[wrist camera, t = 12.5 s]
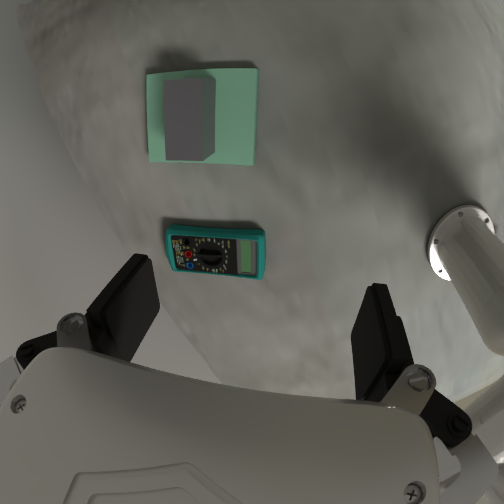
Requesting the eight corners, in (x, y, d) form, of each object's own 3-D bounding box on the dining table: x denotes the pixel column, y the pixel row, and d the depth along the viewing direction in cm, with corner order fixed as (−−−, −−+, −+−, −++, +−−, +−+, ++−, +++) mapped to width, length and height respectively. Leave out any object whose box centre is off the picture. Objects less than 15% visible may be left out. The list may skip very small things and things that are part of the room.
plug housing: (216, 79, 29) (202, 77, 25) (215, 152, 34) (202, 161, 30) (181, 81, 29) (163, 80, 25) (181, 151, 34) (165, 160, 30)
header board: (258, 69, 29) (252, 66, 25) (254, 162, 35) (248, 172, 31) (152, 74, 31) (134, 74, 27) (154, 159, 37) (138, 167, 33)
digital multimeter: (168, 222, 42) (159, 231, 40) (266, 227, 40) (264, 237, 38) (174, 263, 46) (167, 273, 44) (266, 271, 44) (263, 283, 41)
